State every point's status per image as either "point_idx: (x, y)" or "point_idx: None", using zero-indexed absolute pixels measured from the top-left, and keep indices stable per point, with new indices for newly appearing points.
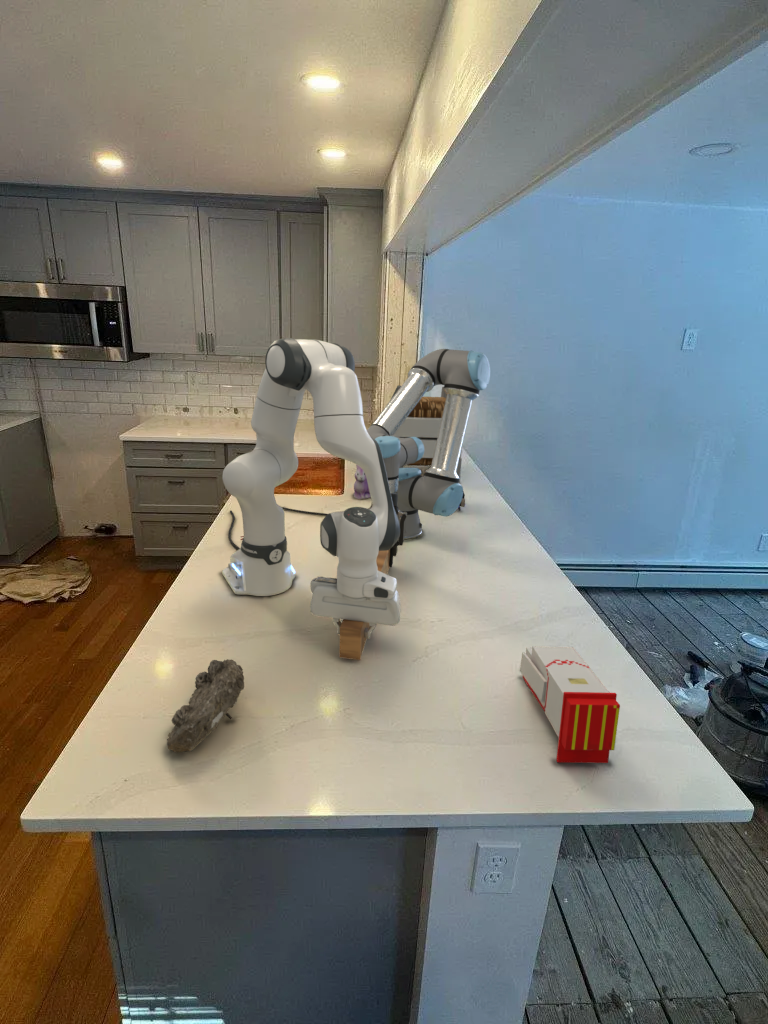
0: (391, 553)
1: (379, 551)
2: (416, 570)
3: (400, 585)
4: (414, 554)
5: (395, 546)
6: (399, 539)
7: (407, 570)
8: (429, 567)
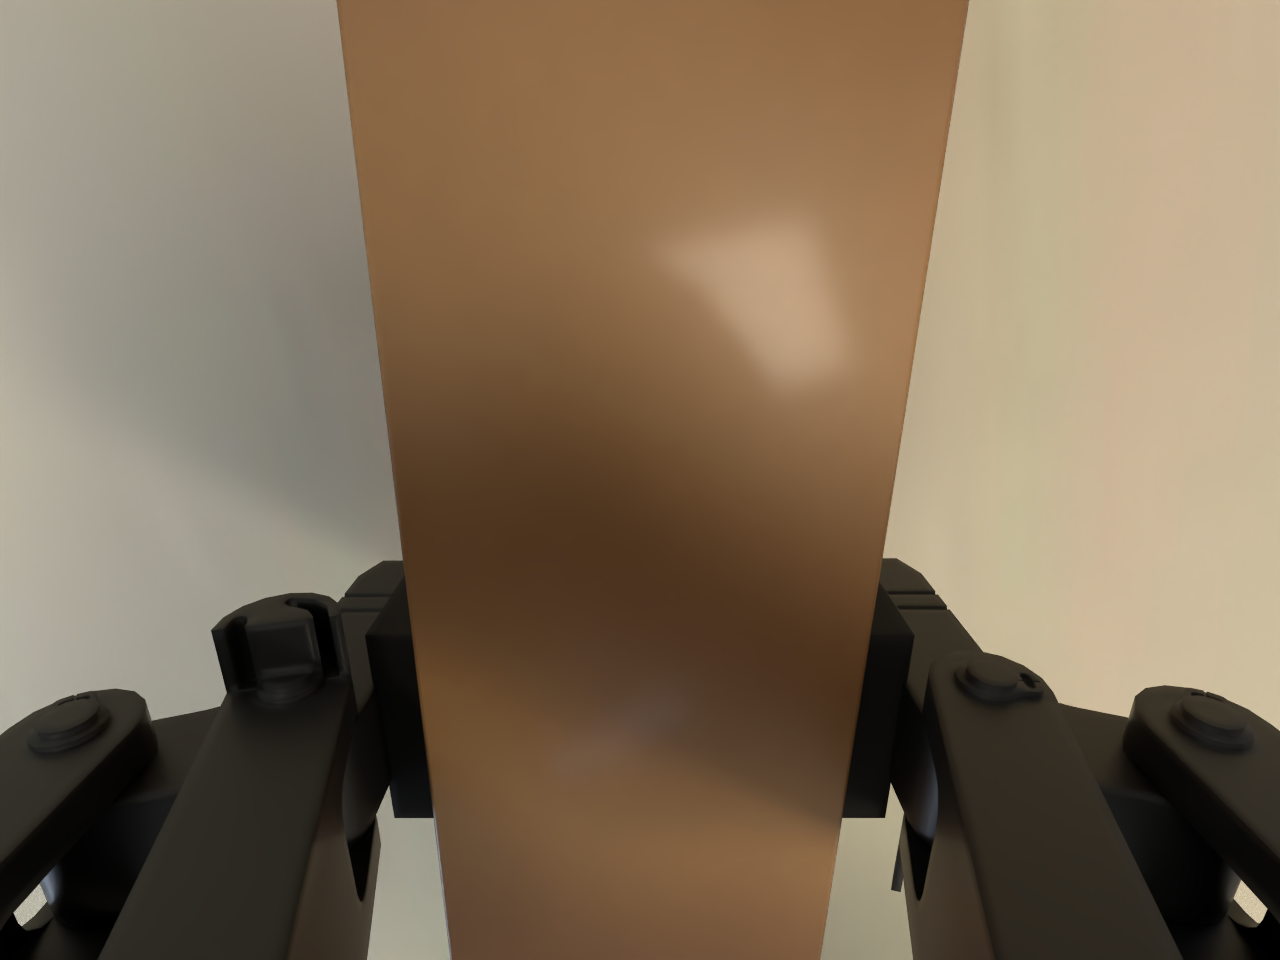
0: None
1: (654, 101)
2: (231, 579)
3: (305, 87)
4: None
5: (247, 619)
6: (3, 842)
7: (334, 558)
8: (114, 677)
